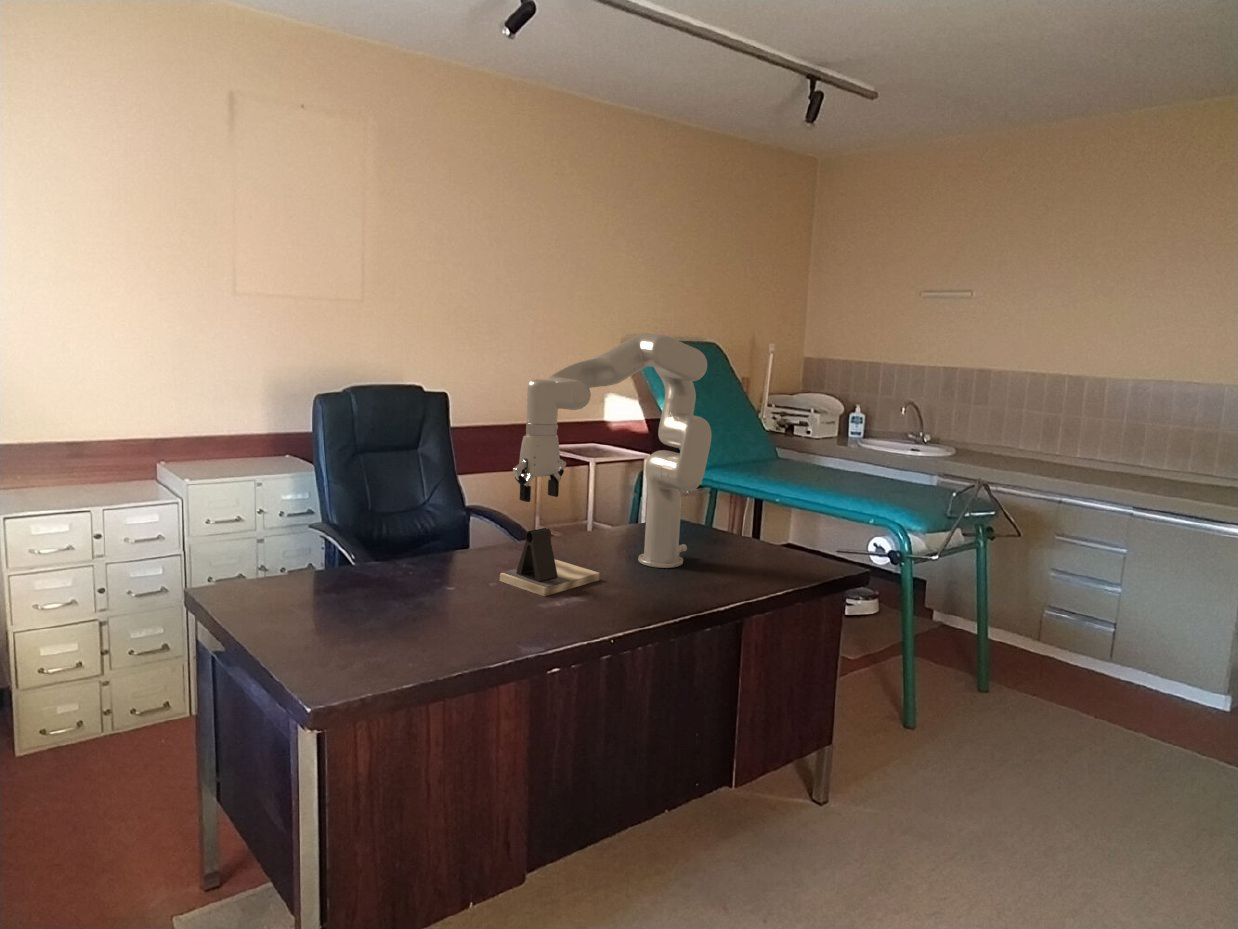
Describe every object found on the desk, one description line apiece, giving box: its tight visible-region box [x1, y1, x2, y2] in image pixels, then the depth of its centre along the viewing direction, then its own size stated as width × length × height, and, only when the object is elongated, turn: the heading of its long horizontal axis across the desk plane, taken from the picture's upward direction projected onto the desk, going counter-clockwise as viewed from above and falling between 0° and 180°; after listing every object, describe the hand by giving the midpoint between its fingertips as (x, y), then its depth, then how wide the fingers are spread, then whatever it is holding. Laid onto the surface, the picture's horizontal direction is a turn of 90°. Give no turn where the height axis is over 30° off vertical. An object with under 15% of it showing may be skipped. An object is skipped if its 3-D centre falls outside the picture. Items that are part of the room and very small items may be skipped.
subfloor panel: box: [499, 558, 600, 597], centre depth 229 cm, size 20×16×2 cm
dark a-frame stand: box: [516, 527, 558, 582], centre depth 225 cm, size 9×6×12 cm, turn 47°
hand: (539, 498), depth 222 cm, fingers open, 9 cm apart
